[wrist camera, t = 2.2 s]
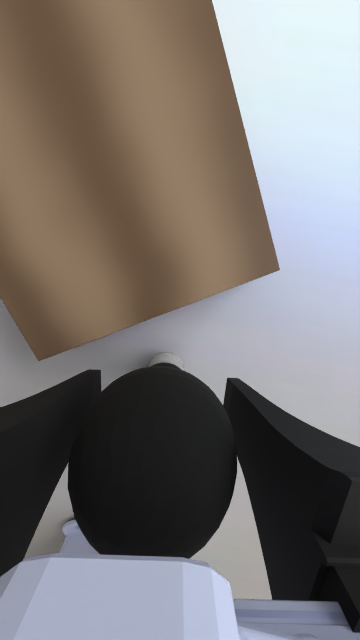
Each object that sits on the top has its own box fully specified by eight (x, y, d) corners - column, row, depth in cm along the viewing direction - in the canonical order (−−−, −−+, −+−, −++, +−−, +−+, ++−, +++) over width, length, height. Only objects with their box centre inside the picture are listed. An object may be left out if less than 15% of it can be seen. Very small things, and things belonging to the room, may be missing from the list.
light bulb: (142, 406, 15) (77, 649, 5) (115, 337, 14) (-37, 490, 4) (214, 386, 15) (288, 605, 5) (194, 314, 13) (239, 417, 4)
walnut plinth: (68, 342, 14) (38, 361, 11) (-53, 121, 11) (-139, 63, 8) (256, 271, 13) (279, 269, 10) (181, 5, 10) (184, -110, 7)
